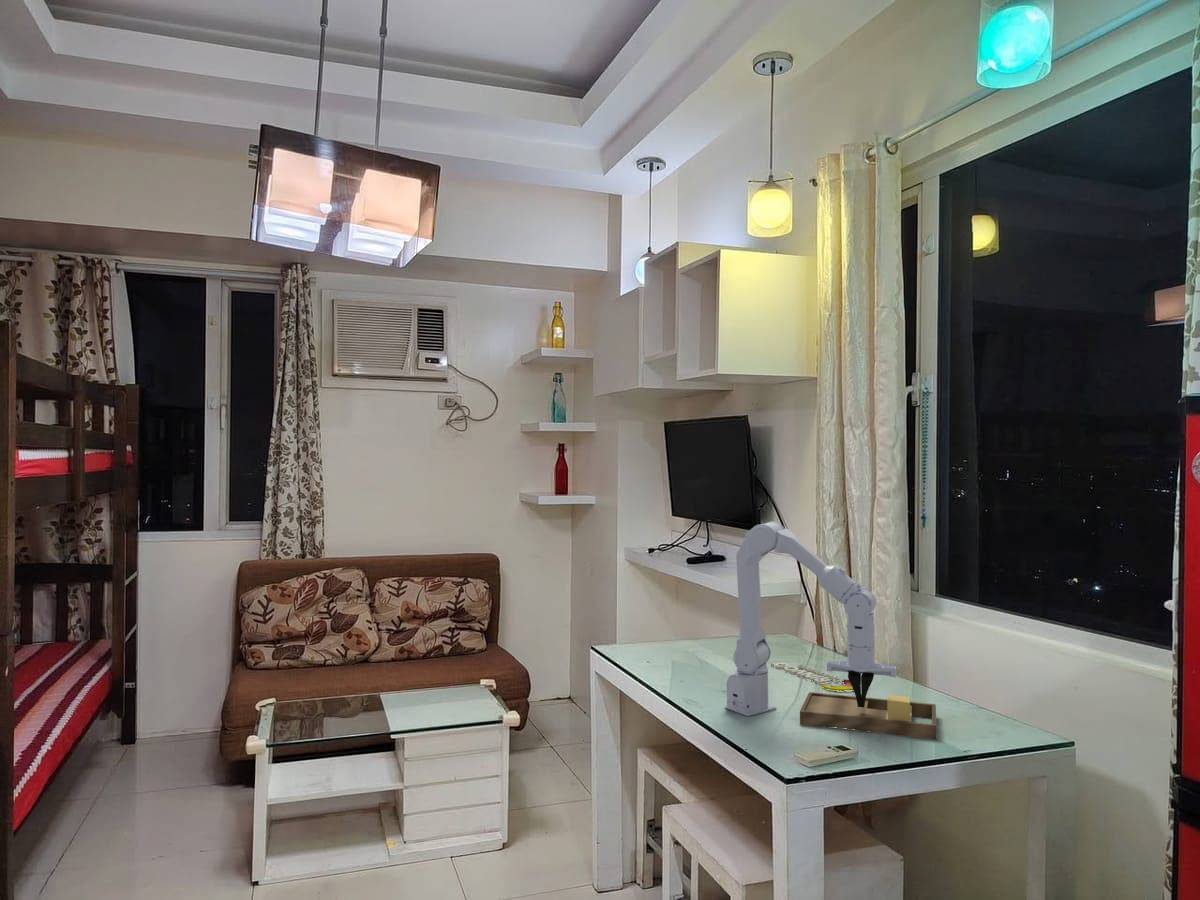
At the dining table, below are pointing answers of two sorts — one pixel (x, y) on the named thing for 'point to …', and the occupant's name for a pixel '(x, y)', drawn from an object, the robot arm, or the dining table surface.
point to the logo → (813, 676)
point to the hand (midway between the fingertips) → (861, 706)
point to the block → (898, 707)
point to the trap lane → (865, 715)
